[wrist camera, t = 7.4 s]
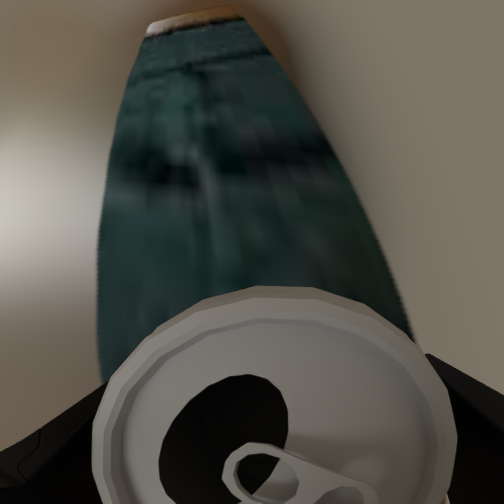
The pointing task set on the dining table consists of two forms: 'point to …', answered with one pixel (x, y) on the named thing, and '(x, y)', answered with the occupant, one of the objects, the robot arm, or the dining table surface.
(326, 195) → the dining table surface
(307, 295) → the can
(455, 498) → the robot arm
